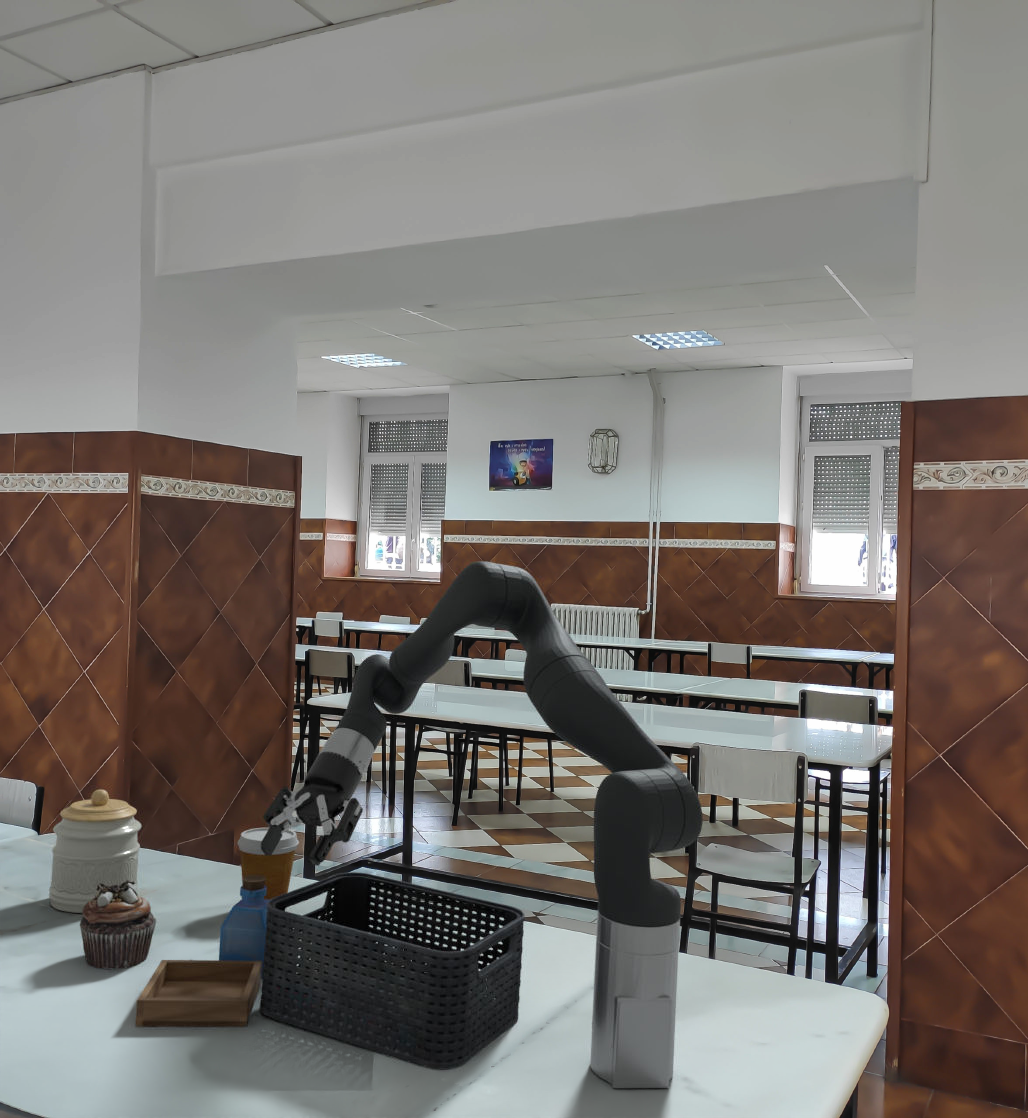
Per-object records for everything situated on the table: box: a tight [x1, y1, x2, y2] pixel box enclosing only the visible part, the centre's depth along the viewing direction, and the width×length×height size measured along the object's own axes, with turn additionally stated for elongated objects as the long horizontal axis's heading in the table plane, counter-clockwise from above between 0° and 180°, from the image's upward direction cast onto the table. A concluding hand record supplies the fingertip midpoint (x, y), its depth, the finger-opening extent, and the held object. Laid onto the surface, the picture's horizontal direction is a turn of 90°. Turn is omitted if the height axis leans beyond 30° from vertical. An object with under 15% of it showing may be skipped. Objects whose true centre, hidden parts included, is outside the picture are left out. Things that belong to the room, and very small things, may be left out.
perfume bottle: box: [218, 875, 269, 979], centre depth 137 cm, size 6×6×12 cm
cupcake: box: [79, 880, 158, 970], centre depth 138 cm, size 10×10×10 cm
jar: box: [48, 788, 142, 914], centre depth 160 cm, size 13×13×18 cm
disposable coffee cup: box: [236, 827, 300, 900], centre depth 160 cm, size 10×10×12 cm
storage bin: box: [259, 871, 526, 1070], centre depth 124 cm, size 29×19×13 cm
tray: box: [134, 959, 262, 1028], centre depth 124 cm, size 13×13×3 cm
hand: (289, 857), depth 143 cm, fingers open, 8 cm apart
